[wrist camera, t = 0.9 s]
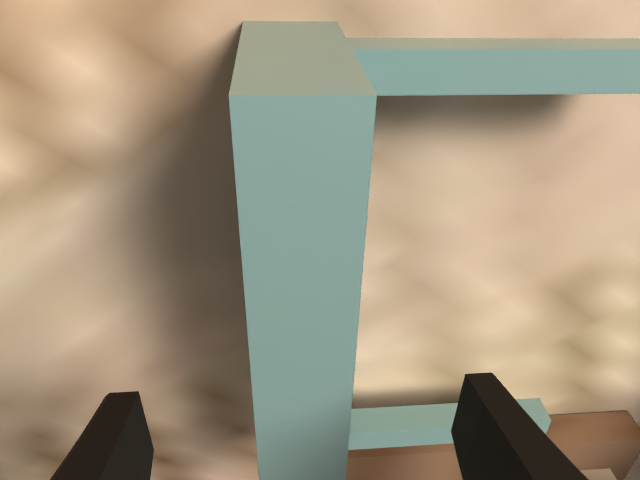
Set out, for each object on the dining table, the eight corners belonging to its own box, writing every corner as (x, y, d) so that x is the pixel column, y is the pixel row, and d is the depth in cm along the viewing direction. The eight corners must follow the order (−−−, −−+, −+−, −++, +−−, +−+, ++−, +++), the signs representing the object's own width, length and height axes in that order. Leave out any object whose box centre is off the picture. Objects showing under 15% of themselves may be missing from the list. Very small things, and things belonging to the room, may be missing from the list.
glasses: (628, 21, 14) (826, 91, 9) (512, 375, 22) (585, 517, 17) (241, 20, 13) (224, 96, 8) (263, 389, 21) (262, 542, 16)
